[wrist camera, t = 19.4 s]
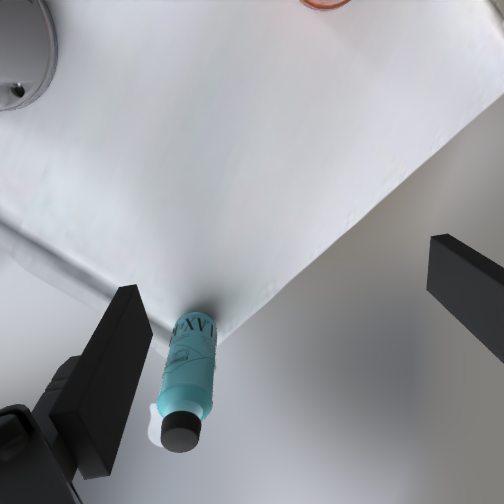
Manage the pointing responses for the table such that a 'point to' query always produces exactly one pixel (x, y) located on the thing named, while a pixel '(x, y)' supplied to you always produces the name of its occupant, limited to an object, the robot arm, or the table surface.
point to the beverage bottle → (187, 381)
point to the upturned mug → (324, 4)
